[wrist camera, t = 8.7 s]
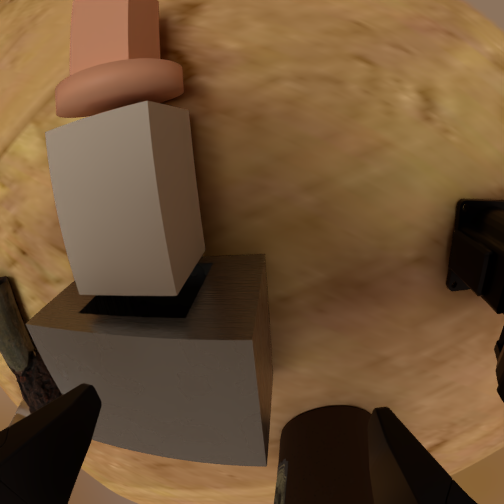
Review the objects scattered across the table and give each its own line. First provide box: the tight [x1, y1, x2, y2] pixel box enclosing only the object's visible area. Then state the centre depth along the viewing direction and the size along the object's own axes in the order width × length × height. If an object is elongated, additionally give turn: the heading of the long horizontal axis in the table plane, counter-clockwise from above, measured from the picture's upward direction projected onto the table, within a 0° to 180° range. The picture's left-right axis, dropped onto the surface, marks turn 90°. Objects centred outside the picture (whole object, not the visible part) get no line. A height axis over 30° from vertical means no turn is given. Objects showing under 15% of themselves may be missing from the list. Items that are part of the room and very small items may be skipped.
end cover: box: [45, 0, 205, 296], centre depth 13 cm, size 6×15×6 cm, turn 5°
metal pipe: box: [0, 277, 62, 414], centre depth 23 cm, size 18×7×6 cm, turn 6°
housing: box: [26, 254, 273, 466], centre depth 17 cm, size 12×10×8 cm
